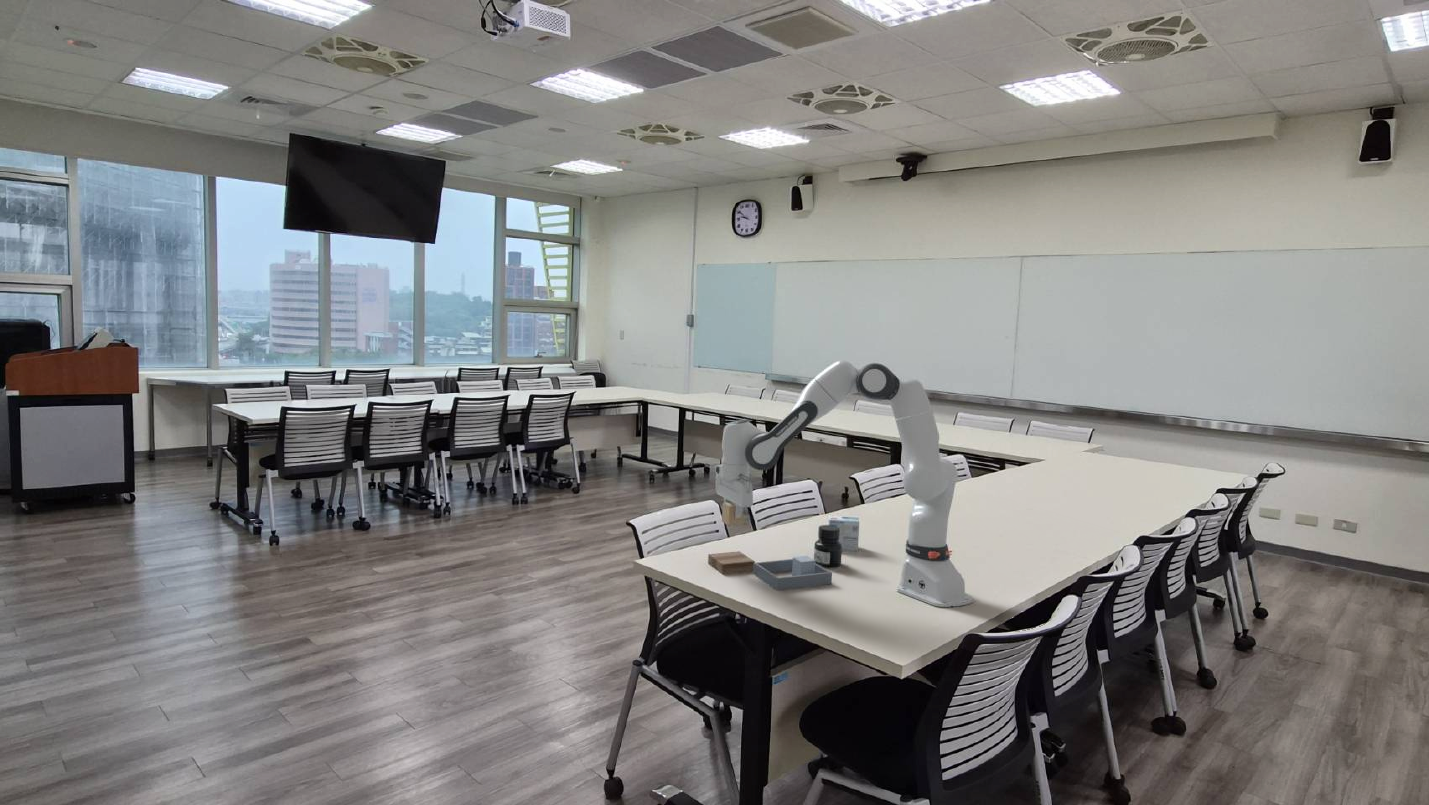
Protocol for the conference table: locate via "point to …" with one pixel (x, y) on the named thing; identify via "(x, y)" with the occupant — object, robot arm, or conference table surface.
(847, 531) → the light bulb box
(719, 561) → the walnut stand
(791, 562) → the parts tray
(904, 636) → the conference table surface
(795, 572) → the plain box
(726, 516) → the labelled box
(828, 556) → the ink bottle
